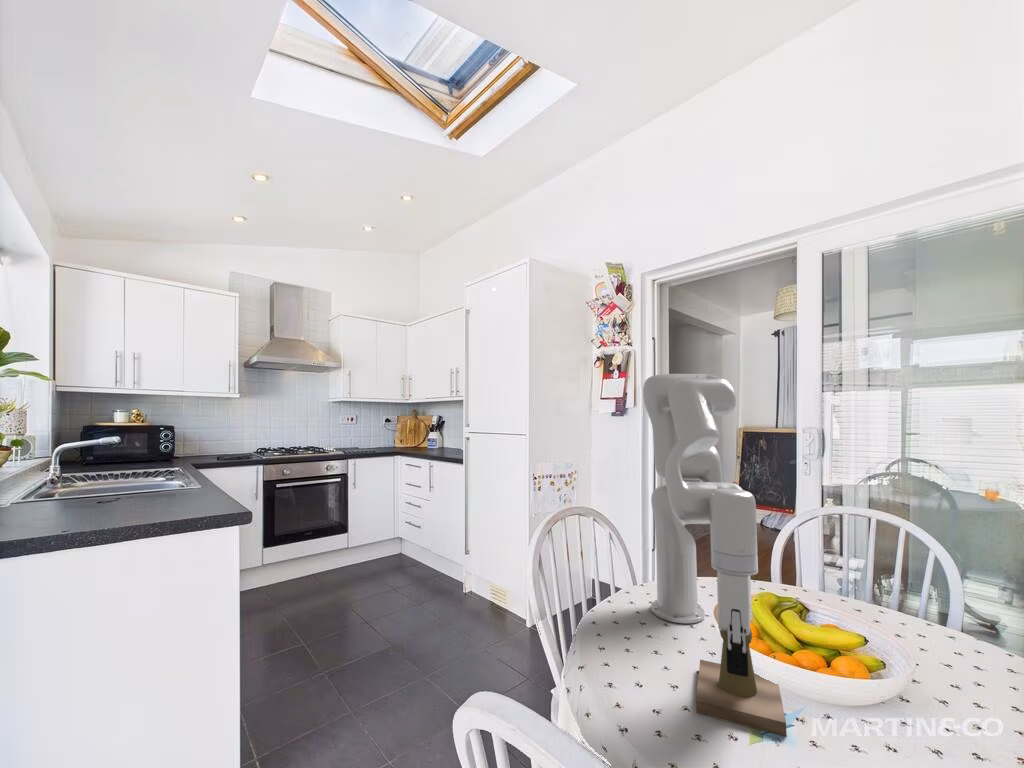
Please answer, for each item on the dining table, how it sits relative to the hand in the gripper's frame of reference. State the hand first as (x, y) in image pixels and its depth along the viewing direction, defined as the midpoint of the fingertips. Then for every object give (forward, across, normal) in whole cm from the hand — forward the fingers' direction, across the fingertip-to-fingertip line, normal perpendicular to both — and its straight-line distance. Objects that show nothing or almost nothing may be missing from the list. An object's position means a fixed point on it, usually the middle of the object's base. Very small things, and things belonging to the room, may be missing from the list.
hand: (737, 664), depth 80 cm
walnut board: (+6, 0, 0) cm, 6 cm away
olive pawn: (+4, 0, 0) cm, 4 cm away
